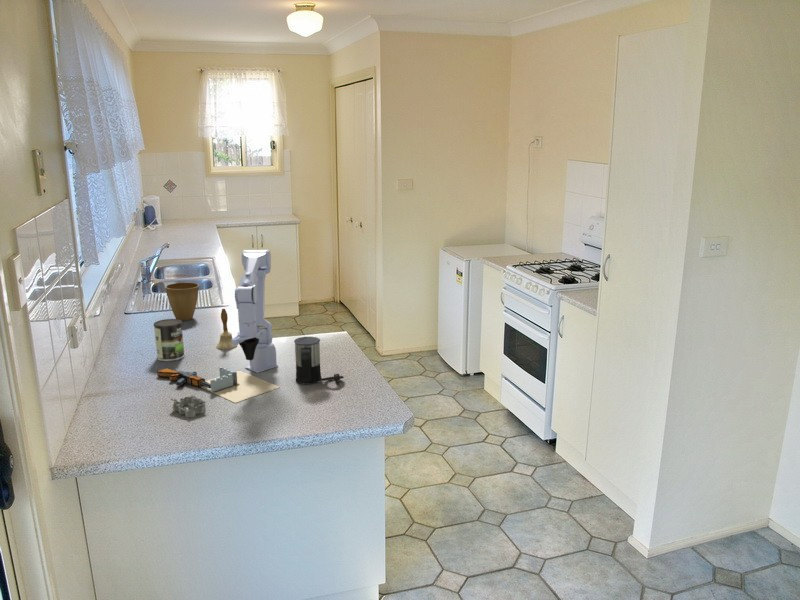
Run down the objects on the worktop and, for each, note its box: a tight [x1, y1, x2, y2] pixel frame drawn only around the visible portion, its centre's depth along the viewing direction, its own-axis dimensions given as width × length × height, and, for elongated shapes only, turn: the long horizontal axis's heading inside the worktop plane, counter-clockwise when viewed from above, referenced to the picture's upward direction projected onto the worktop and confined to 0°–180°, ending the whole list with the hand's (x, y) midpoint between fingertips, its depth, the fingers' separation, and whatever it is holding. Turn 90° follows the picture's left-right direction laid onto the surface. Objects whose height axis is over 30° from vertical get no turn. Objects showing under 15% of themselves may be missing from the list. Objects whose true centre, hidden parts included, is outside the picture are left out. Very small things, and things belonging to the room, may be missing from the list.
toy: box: [156, 367, 211, 388], centre depth 230 cm, size 2×26×10 cm
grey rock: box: [170, 394, 207, 418], centre depth 207 cm, size 11×8×4 cm
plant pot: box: [165, 281, 200, 322], centre depth 307 cm, size 15×15×16 cm
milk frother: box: [293, 336, 345, 385], centre depth 230 cm, size 14×16×15 cm
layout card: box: [200, 370, 280, 404], centre depth 227 cm, size 18×24×1 cm
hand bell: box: [215, 308, 238, 351], centre depth 267 cm, size 8×8×16 cm
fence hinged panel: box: [210, 371, 237, 393], centre depth 224 cm, size 10×1×4 cm, turn 137°
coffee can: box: [153, 318, 185, 362], centre depth 255 cm, size 10×10×14 cm
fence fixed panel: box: [218, 366, 234, 384], centre depth 230 cm, size 8×1×4 cm, turn 48°
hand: (249, 359), depth 224 cm, fingers closed
